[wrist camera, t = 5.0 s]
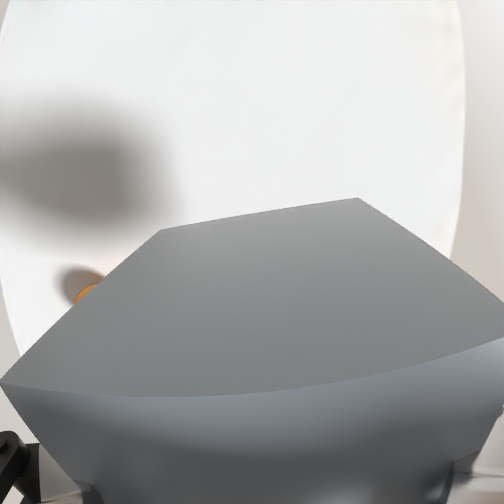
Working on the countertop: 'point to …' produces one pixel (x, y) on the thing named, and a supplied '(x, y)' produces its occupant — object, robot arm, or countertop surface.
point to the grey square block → (270, 365)
